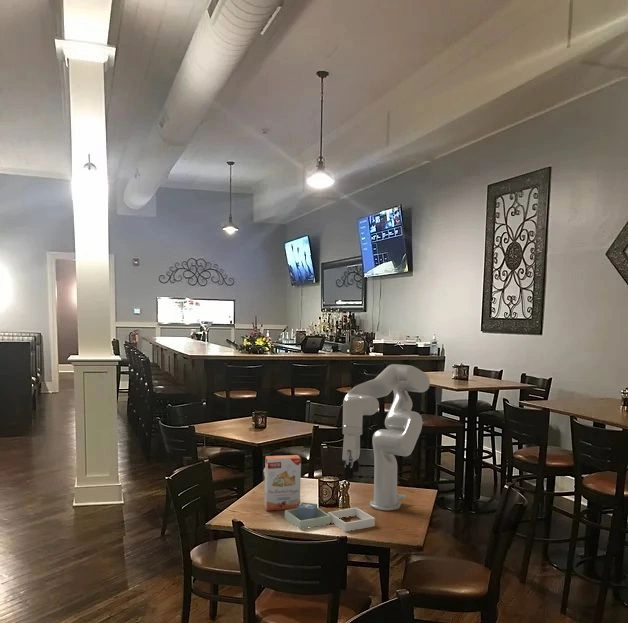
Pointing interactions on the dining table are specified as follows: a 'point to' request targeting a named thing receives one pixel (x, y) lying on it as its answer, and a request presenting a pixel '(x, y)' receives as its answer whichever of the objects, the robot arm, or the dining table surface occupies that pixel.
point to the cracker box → (282, 482)
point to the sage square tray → (322, 519)
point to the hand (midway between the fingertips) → (351, 474)
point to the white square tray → (364, 523)
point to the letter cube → (307, 511)
